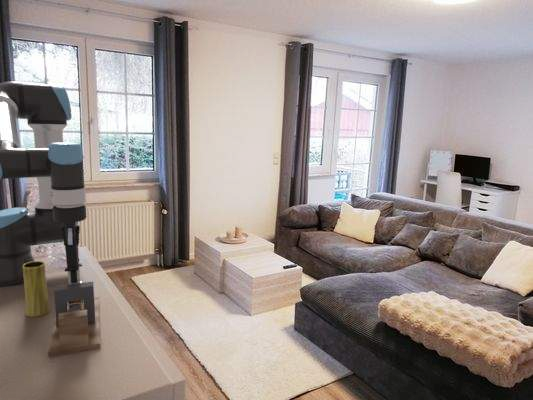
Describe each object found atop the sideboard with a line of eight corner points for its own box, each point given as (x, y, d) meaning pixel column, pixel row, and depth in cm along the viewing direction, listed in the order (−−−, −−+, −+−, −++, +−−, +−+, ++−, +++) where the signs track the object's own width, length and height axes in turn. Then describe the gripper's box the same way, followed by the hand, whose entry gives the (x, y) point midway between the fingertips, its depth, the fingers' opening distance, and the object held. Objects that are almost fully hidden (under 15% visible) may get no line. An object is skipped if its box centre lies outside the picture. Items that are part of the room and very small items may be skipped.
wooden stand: (58, 306, 116) (55, 277, 114) (98, 300, 120) (97, 272, 118) (48, 357, 91) (45, 321, 90) (100, 347, 96) (98, 313, 94)
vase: (38, 318, 108) (34, 269, 106) (19, 315, 110) (14, 266, 107) (54, 308, 114) (51, 261, 112) (36, 305, 116) (32, 259, 113)
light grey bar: (72, 290, 115) (71, 281, 114) (83, 289, 116) (82, 280, 115) (67, 327, 95) (66, 316, 94) (80, 325, 96) (80, 314, 95)
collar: (57, 322, 103) (54, 286, 101) (95, 316, 107) (93, 281, 105) (56, 327, 100) (53, 290, 98) (95, 321, 104) (93, 285, 102)
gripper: (54, 200, 104) (60, 284, 108) (49, 211, 92) (57, 305, 97) (86, 199, 107) (90, 281, 111) (85, 209, 95) (90, 300, 100)
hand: (75, 292), depth 104 cm, fingers closed
